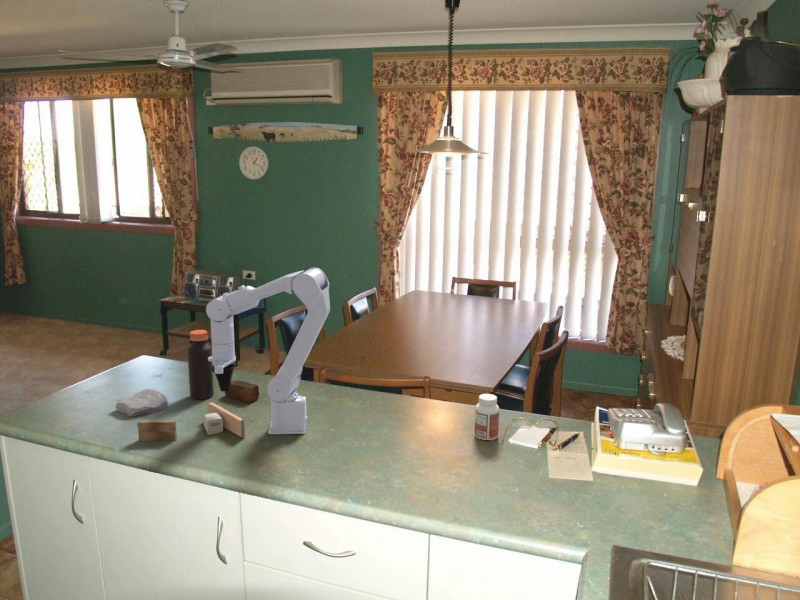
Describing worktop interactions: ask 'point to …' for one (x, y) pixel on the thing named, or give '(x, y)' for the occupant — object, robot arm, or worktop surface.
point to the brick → (243, 391)
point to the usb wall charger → (213, 423)
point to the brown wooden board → (157, 430)
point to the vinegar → (200, 366)
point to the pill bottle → (487, 417)
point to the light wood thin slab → (229, 420)
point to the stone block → (142, 403)
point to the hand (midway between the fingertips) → (225, 390)
